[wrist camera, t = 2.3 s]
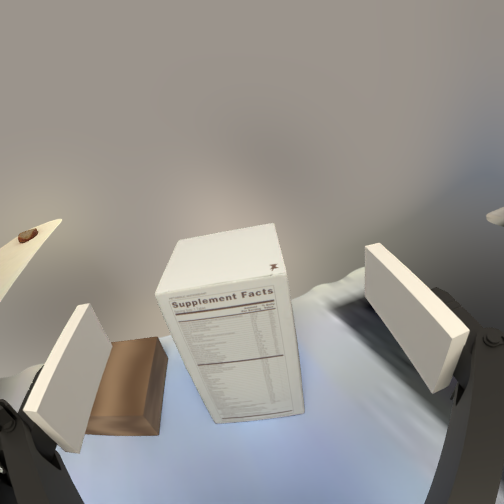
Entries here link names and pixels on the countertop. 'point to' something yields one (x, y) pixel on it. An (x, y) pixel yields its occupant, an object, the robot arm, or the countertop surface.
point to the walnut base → (130, 390)
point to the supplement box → (234, 323)
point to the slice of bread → (27, 235)
